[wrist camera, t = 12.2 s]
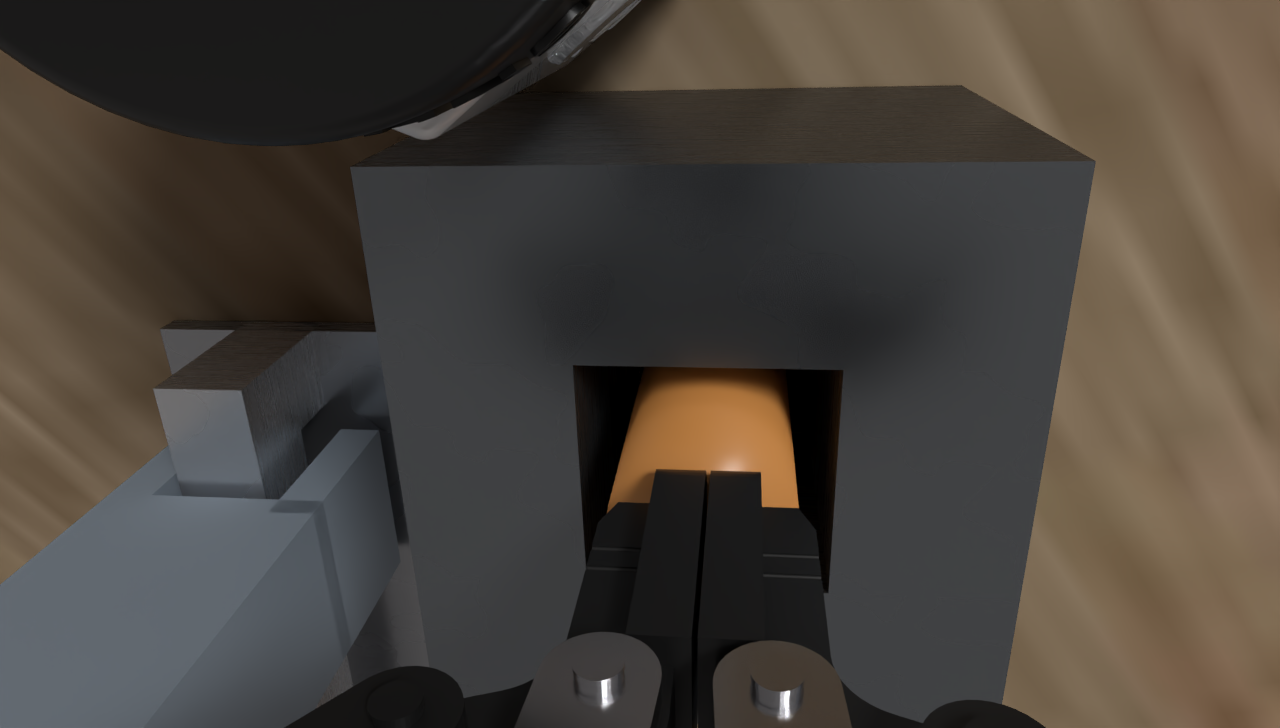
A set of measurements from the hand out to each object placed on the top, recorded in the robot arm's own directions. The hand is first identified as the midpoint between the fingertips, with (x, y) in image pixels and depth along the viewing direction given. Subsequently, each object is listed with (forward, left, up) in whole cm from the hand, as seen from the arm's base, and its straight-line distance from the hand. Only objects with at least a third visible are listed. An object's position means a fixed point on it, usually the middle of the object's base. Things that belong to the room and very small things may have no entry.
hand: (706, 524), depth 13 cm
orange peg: (0, 0, -8) cm, 9 cm away
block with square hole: (0, 0, -9) cm, 9 cm away
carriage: (-11, -5, -9) cm, 15 cm away
